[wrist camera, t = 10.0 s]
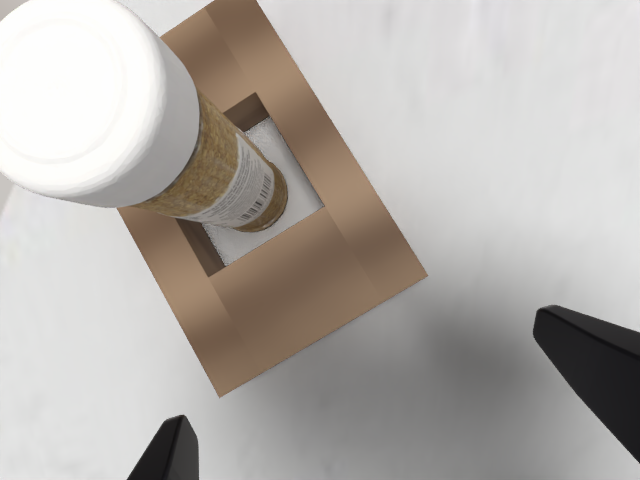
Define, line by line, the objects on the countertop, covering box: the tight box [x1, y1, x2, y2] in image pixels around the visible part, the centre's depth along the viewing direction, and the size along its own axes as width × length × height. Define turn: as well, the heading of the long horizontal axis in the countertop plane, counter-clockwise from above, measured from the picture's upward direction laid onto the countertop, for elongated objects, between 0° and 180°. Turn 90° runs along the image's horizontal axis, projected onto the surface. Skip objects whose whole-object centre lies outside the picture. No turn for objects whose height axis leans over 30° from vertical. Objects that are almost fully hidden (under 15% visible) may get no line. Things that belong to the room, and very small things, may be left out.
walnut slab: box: [117, 0, 428, 398], centre depth 19 cm, size 18×12×3 cm, turn 31°
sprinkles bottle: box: [0, 0, 287, 232], centre depth 14 cm, size 5×5×14 cm
